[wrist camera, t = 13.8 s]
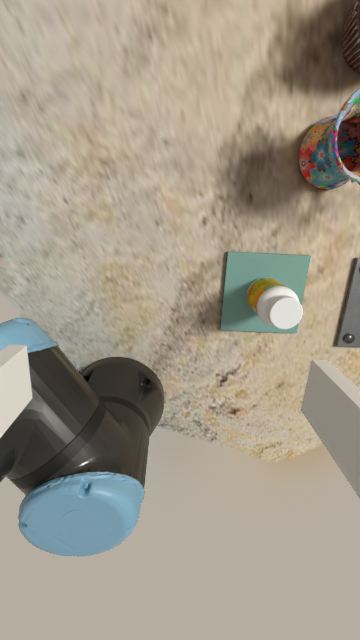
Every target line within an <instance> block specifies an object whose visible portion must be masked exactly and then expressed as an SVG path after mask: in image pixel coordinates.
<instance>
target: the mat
mask: <svg viewBox="0 0 360 640" xmlns="http://www.w3.org/2000/svg"><path fill="white" fill-rule="evenodd" d="M310 257H311V256H309V255H290V254H268V253H247V252H227V262H226V272H225V283H224V293H223V304H222V314H221V325H220V330H226V331H251V332H277V333H297V328H298V324H297V325H295V326H294V327H292V328H289V329H280V328H277V327H274V326H270V325H267V324H266V323H264V322H263V321H262V320H261V319H260V318H259V316H258V315H257V314H256V313H255V312H254V311H253V309H252V308H251V307H250V306H249V304H248V302H247V290H248V288H249V286H250V285H251V284H252V283H253V282H254V281H255V280H257V279H259V278H263V277H269V278H272V279H275V280H277V281H278V282H280V283H281V284H283V285H285V286H286V287H288V288H290V289H291V290H292V291H293V292H295V294H296V295H297V297H298V299H299V303H300V304H301V306H302V300H303V295H304V289H305V284H306V278H307V273H308V267H309V262H310Z"/></svg>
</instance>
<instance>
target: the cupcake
mask: <svg viewBox="0 0 360 640" xmlns="http://www.w3.org/2000/svg"><path fill="white" fill-rule="evenodd" d="M342 49H343V55H344V58H345V60H346V62H347V63H348V65H349V66H350V67H351V68H352V69H353V70H354V71H356V72H359V73H360V0H356V2H355V4H354V6H353V7H352V9H351V10H350V12H349V15H348V16H347V18H346V19H345V26H344V29H343V34H342Z"/></svg>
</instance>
